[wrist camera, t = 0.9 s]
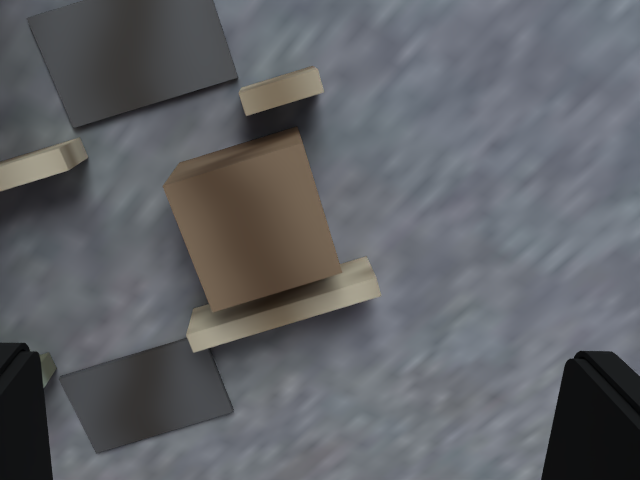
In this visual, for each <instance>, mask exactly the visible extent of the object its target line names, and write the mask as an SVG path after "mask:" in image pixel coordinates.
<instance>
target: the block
mask: <svg viewBox="0 0 640 480" xmlns="http://www.w3.org/2000/svg"><path fill="white" fill-rule="evenodd" d="M163 188H164V191H165V193H166V196H167V198H168V201H169V203H170V206H171V208H172V211H173V214H174V216H175V219H176V221H177V224H178V226H179V229H180V231H181V234H182V236H183V239H184V241H185V244H186V246H187V249H188V252H189V254H190V257H191V259H192V262H193V264H194V267H195V269H196V272H197V274H198V277H199V279H200V282H201V285H202V287H203V290H204V292H205V295H206V297H207V300H208V302H209V305H210V307H211V310H212V312H216V311H219V310H223V309H226V308H229V307H232V306H236V305H239V304H242V303H246V302H249V301H252V300H255V299H259V298H262V297H265V296H268V295H272V294H275V293H278V292H281V291H285V290H288V289H291V288H295V287H298V286H301V285H304V284H308V283H311V282H314V281H317V280H321V279H324V278H327V277H331V276H334V275H337V274H340V273H342V270H341V267H340V263H339V260H338V257H337V254H336V250H335V247H334V244H333V241H332V237H331V234H330V231H329V227H328V224H327V221H326V218H325V214H324V211H323V208H322V205H321V201H320V198H319V195H318V191H317V188H316V185H315V182H314V178H313V175H312V172H311V169H310V165H309V162H308V159H307V155H306V152H305V149H304V146H303V142H302V139H301V136H300V133H299V130H298V127H297V126H296V127H293V128H290V129H287V130H283V131H280V132H277V133H274V134H271V135H267V136H264V137H261V138H258V139H255V140H251V141H248V142H245V143H242V144H238V145H235V146H232V147H229V148H226V149H222V150H219V151H216V152H213V153H209V154H206V155H203V156H200V157H197V158H193V159H190V160H187V161H184V162H180V163H179V164H178V165H177V167H176V168H175V170H174V171H173V172H172V174H171V175H170V177H169V178H168V179H167V181H166V182H165V184H164V185H163Z"/></svg>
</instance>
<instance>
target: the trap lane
mask: <svg viewBox="0 0 640 480" xmlns="http://www.w3.org/2000/svg"><path fill="white" fill-rule="evenodd" d="M27 20H28V23H29V25H30V27H31V30H32V32H33V34H34V37H35V39H36V41H37V44H38V46H39V49H40V51H41V53H42V56H43V58H44V60H45V63H46V65H47V67H48V70H49V72H50V74H51V77H52V79H53V81H54V84H55V86H56V88H57V91H58V93H59V95H60V98H61V100H62V102H63V105H64V107H65V110H66V112H67V114H68V117H69V119H70V121H71V124H72V126H73V128H75V127H79V126H82V125H85V124H88V123H92V122H95V121H98V120H101V119H105V118H108V117H111V116H115V115H118V114H121V113H124V112H128V111H131V110H134V109H137V108H141V107H144V106H147V105H150V104H154V103H157V102H160V101H163V100H167V99H170V98H173V97H176V96H180V95H183V94H186V93H189V92H193V91H196V90H199V89H202V88H206V87H209V86H212V85H215V84H219V83H222V82H225V81H228V80H232V79H235V78H238V76H237V73H236V69H235V66H234V63H233V60H232V57H231V54H230V51H229V48H228V45H227V42H226V39H225V36H224V33H223V29H222V26H221V23H220V20H219V17H218V14H217V11H216V8H215V5H214V2H213V0H83V1H80V2H77V3H74V4H70V5H67V6H64V7H61V8H57V9H54V10H51V11H48V12H45V13H41V14H38V15H35V16H32V17H28V18H27ZM323 92H324V90H323V86H322V83H321V79H320V75H319V72H318V69H317V68H315V67H314V66H311V67H308V68H304V69H301V70H298V71H295V72H291V73H288V74H285V75H282V76H278V77H275V78H272V79H268V80H265V81H262V82H259V83H255V84H252V85H249V86H246V87H242V88H241V90H240V92H239V96H240V99H241V102H242V105H243V108H244V111H245V114H246V116H248V115H251V114H255V113H258V112H261V111H264V110H268V109H271V108H274V107H277V106H281V105H284V104H287V103H291V102H294V101H297V100H300V99H304V98H307V97H310V96H313V95H317V94H320V93H323ZM87 158H88V156H87V153H86V151H85V149H84V146H83V144H82V142H81V139H80V137H79V138H76V139H73V140H70V141H66V142H63V143H60V144H57V145H53V146H50V147H47V148H44V149H40V150H37V151H34V152H31V153H27V154H24V155H21V156H18V157H14V158H11V159H8V160H5V161H1V162H0V191H3V190H6V189H10V188H13V187H16V186H20V185H23V184H26V183H29V182H33V181H36V180H39V179H42V178H46V177H49V176H52V175H55V174H59V173H62V172H65V171H69V170H70V169H72V168H73V167H75V166H76V165H78V164H79V163H81V162H82V161H84V160H85V159H87ZM340 267H341V270H342V273H340V274H337V275H334V276H331V277H327V278H324V279H321V280H317V281H314V282H311V283H308V284H304V285H301V286H298V287H295V288H291V289H288V290H285V291H281V292H278V293H275V294H272V295H268V296H265V297H262V298H259V299H255V300H252V301H249V302H246V303H242V304H239V305H236V306H232V307H229V308H226V309H223V310H219V311H216V312H212V310H211V307H210V305H209V304H207V305H204V306H201V307H197V308H194V309H193V312H192V316H191V319H190V323H189V327H188V330H187V334H186V336H187V338H185V339H182V340H178V341H175V342H172V343H168V344H165V345H162V346H158V347H155V348H152V349H149V350H145V351H142V352H139V353H135V354H132V355H129V356H125V357H122V358H119V359H115V360H112V361H109V362H105V363H102V364H99V365H96V366H92V367H89V368H86V369H82V370H79V371H76V372H72V373H69V374H66V375H62V376H60V378H59V381H60V382H61V384H62V386H63V388H64V390H65V392H66V394H67V396H68V398H69V400H70V402H71V404H72V406H73V408H74V410H75V412H76V414H77V416H78V418H79V420H80V422H81V424H82V426H83V428H84V430H85V432H86V434H87V436H88V438H89V440H90V442H91V444H92V446H93V448H94V450H95V452H96V453H99V452H102V451H106V450H109V449H112V448H116V447H119V446H122V445H126V444H129V443H132V442H136V441H139V440H142V439H146V438H149V437H152V436H156V435H159V434H162V433H166V432H169V431H172V430H176V429H179V428H182V427H186V426H189V425H192V424H196V423H199V422H202V421H206V420H209V419H212V418H216V417H219V416H222V415H226V414H229V413H232V412H233V410H234V409H233V406H232V404H231V401H230V399H229V396H228V394H227V391H226V389H225V386H224V384H223V381H222V379H221V376H220V374H219V371H218V369H217V366H216V364H215V361H214V359H213V356H212V354H211V351H210V349H209V348H211V347H214V346H217V345H221V344H224V343H227V342H231V341H234V340H237V339H241V338H244V337H247V336H251V335H254V334H257V333H260V332H264V331H267V330H270V329H274V328H277V327H280V326H284V325H287V324H290V323H294V322H297V321H300V320H304V319H307V318H310V317H314V316H317V315H320V314H323V313H327V312H330V311H333V310H337V309H340V308H343V307H347V306H350V305H353V304H357V303H360V302H363V301H367V300H370V299H373V298H377V297H380V296H381V293H380V289H379V286H378V282H377V279H376V276H375V274H374V272H373V270H372V267H371V265H370V263H369V261H368V259H367V256H366V257H363V258H359V259H356V260H353V261H349V262H346V263H343V264H340ZM39 356H40V360H41V368H42V378H43V388H44V387H45V386H46V384H47V383H48V381H49V379H50V378H51V376H52V375H53V373H54V372H55V370H56V369H57V368H56V366H55V364H54V362H53V360H52V358H51V356H50V354H49V352H48V353H45V354H42V355H39Z"/></svg>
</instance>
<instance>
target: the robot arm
mask: <svg viewBox="0 0 640 480" xmlns="http://www.w3.org/2000/svg"><path fill="white" fill-rule="evenodd" d="M0 480H53V475H52V466H51V456H50V446H49V436H48V427H47V417H46V407H45V398H44V388H43V378H42V368H41V360H40V356H39V353H38V352H30V349H29V347H28V345H27V344H26V343H0ZM541 480H640V376H639V375H638V374H637V373H635V372H634V371H633V370H632V369H631V368H630V367H629V366H628V365H627V364H626V363H625V362H624V361H623V360H621V359H620V358H619V357H618V356H617V355H616V354H615V353H613V352H609V351H579V352H578V353H576V355H575V356H574V359H569V360H568V361H567V362H566V364H565V367H564V372H563V377H562V381H561V386H560V391H559V396H558V401H557V405H556V410H555V415H554V420H553V425H552V430H551V434H550V439H549V444H548V449H547V454H546V458H545V463H544V468H543V473H542V478H541Z"/></svg>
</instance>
